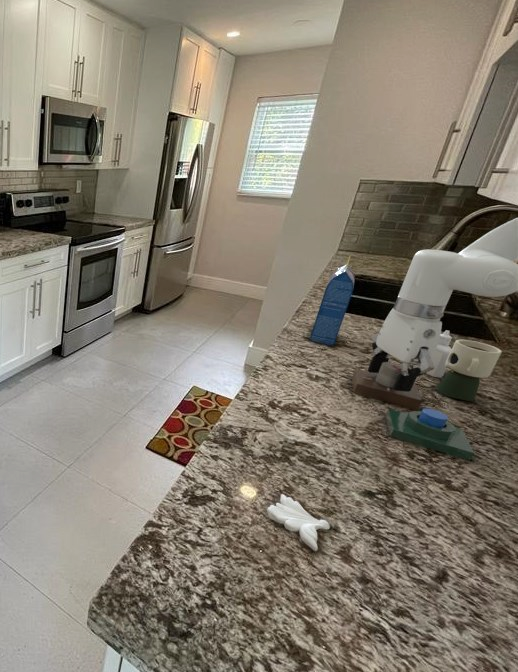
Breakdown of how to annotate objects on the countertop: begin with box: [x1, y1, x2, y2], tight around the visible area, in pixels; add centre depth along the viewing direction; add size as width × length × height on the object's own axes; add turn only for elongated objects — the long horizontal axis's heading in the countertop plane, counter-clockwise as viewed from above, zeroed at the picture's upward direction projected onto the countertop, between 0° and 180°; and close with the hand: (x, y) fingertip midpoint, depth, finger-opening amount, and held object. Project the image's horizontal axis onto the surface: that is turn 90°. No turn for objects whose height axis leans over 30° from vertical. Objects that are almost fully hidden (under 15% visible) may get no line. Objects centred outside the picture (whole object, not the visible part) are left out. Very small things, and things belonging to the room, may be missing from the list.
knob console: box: [351, 368, 423, 411], centre depth 94 cm, size 11×9×3 cm
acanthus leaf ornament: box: [266, 493, 331, 552], centre depth 59 cm, size 8×7×2 cm
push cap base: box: [384, 408, 475, 461], centre depth 79 cm, size 11×9×4 cm
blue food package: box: [308, 256, 356, 347], centre depth 120 cm, size 6×12×25 cm, turn 140°
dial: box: [376, 361, 403, 388], centre depth 93 cm, size 4×4×5 cm
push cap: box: [418, 408, 449, 428], centre depth 78 cm, size 4×4×2 cm
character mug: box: [436, 339, 503, 402], centre depth 93 cm, size 11×7×13 cm, turn 136°
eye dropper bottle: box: [425, 329, 453, 378], centre depth 103 cm, size 4×6×12 cm
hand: (387, 380), depth 93 cm, fingers open, 7 cm apart
